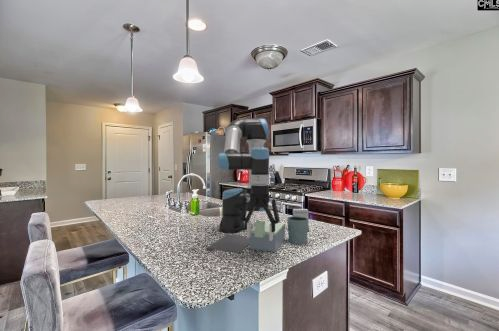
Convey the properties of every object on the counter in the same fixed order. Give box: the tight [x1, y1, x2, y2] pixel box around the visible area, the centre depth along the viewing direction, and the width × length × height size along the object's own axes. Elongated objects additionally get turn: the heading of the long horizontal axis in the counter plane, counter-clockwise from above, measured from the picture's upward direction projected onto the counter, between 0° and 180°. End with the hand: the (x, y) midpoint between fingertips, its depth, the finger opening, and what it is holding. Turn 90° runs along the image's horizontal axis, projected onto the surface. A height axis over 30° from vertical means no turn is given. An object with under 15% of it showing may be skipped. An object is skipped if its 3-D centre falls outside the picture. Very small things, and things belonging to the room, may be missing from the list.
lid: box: [251, 220, 286, 238], centre depth 113 cm, size 12×23×7 cm, turn 160°
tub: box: [248, 225, 286, 253], centre depth 116 cm, size 12×18×8 cm, turn 160°
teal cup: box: [286, 215, 309, 246], centre depth 120 cm, size 10×10×12 cm
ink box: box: [292, 208, 310, 232], centre depth 143 cm, size 9×5×12 cm, turn 84°
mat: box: [206, 233, 249, 254], centre depth 118 cm, size 16×22×1 cm
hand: (259, 238), depth 104 cm, fingers open, 9 cm apart
